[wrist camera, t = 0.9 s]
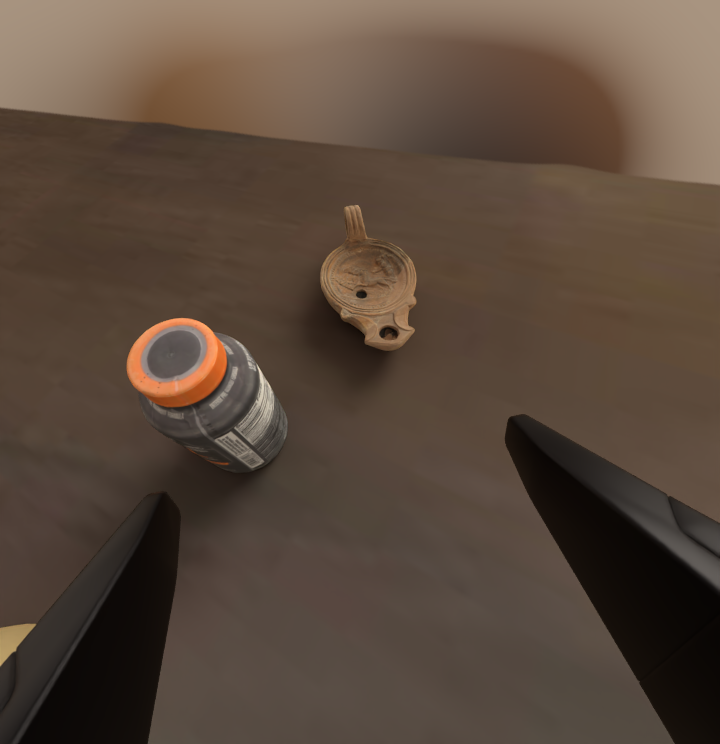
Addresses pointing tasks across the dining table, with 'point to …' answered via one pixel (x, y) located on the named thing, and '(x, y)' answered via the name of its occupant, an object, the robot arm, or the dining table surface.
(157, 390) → the pill bottle
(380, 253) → the oil lamp
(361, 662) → the dining table surface
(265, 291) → the dining table surface
